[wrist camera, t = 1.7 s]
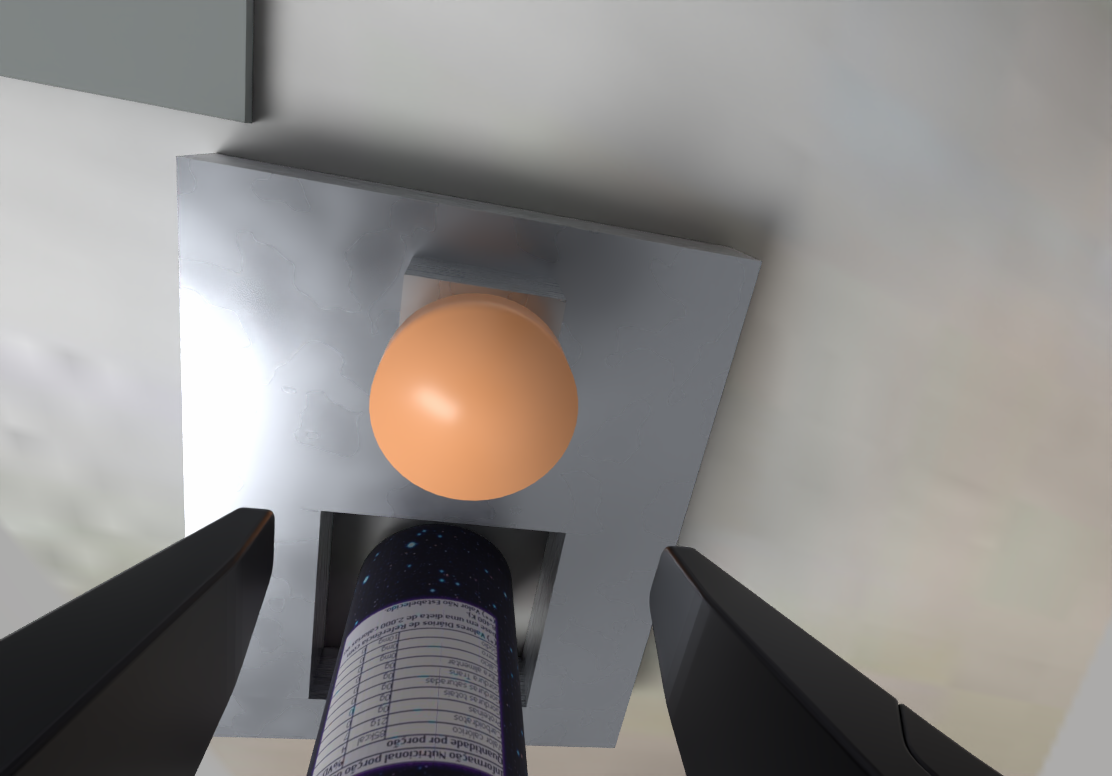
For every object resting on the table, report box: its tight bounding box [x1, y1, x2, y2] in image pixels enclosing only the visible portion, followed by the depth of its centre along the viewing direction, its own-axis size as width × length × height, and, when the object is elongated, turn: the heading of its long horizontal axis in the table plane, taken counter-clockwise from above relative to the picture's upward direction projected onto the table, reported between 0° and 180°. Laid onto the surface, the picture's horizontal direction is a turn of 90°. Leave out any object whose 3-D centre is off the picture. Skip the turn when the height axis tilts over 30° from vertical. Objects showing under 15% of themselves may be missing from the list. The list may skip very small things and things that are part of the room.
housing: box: [176, 153, 762, 748], centre depth 21 cm, size 16×20×5 cm
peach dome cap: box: [369, 293, 578, 501], centre depth 15 cm, size 4×4×3 cm
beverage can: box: [307, 524, 528, 776], centre depth 19 cm, size 6×6×12 cm
